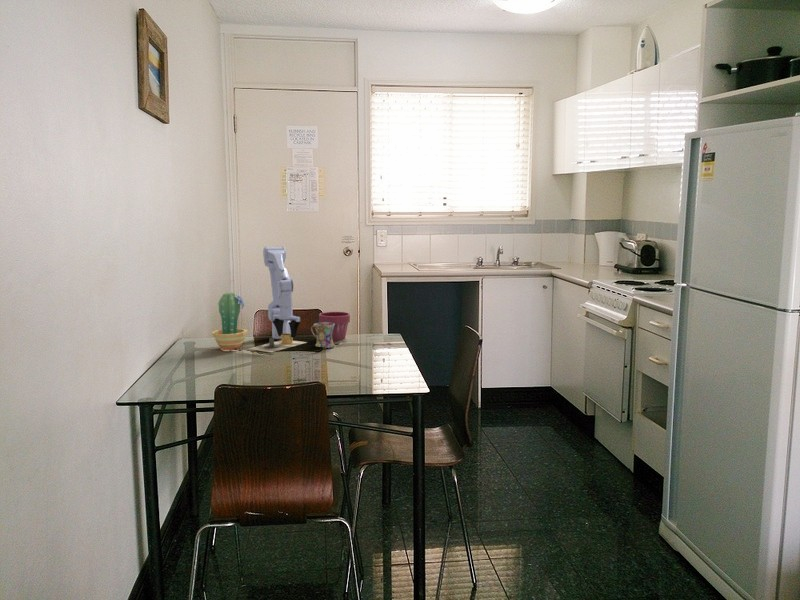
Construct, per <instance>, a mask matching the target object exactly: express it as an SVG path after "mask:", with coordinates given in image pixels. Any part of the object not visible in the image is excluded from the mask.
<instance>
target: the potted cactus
mask: <svg viewBox="0 0 800 600" xmlns="http://www.w3.org/2000/svg"><path fill="white" fill-rule="evenodd" d="M217 304H218V313H219V316H220V318H221V329H216V330H212V331H211V334H212V337H213V338H214V339H215V342H216V344H217V345H218V347H219V349H220V348H221V349H223V350H237V349H239V348H240V347H241V346H242V345H243V343H244V341H245V339H246V336H247V335H248V330H247V329H244V328H238V321H239V315H240V312H241V310H243V309H244V307H245V301H244V299H243V298H242V297H241V295H236V294H235V293H233V292H226V293H223V294H222V296H221V297H220V299H219V300H218V302H217ZM237 351H238V350H237Z"/></svg>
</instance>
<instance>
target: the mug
mask: <svg viewBox="0 0 800 600" xmlns="http://www.w3.org/2000/svg"><path fill="white" fill-rule="evenodd" d="M334 325H335V324H334V323H330V322H321V323H320V322H315V323H313V325H312V326H311V328H310V331H311V333H312V335H313V336H314V338H316V343H315V344H314V346H315V347H317V348H318V347H319V348H321V350H326V348H328V349H331V348H334V347H335V343H334V340H332V332H333V328H334ZM313 328H314V330H315V333H314V330H313Z"/></svg>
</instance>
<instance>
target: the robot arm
mask: <svg viewBox="0 0 800 600" xmlns="http://www.w3.org/2000/svg"><path fill="white" fill-rule="evenodd" d="M262 254H263V263H264V266H266V267H267V268H268V271H269V275H270V283H271V293H272V301H271V302H270V303H269V304H268V306H267V317H268V318H267V319H268V320H269V321H270V322H271V328H272V329H271V332H272V334H271V335H272V336H271V338H274V340H281V334H285V333H290V334H291V337H292V338H293V339H294V338H296V335H297V332H298V329H299V326H300V325H301V316H296V315H293V314H294V313H293V292H294V281H293V279H292V278H291V277H290V275H289V271H288V269H287V268H286V267H285V262H286V258H287V250H286V247H285V246H264V248H263V251H262Z"/></svg>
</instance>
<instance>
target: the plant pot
mask: <svg viewBox="0 0 800 600" xmlns="http://www.w3.org/2000/svg"><path fill="white" fill-rule="evenodd" d="M350 321H351V315H350V313H349V312H346V311H327V312H326V311H324V312H320V313H319V314H318V323H321V322H330V323H334V324H335V325H334V328H333V332H332V340H333V341H341V340H345V339H346V336H347V331H348V326H349V323H350Z"/></svg>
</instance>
